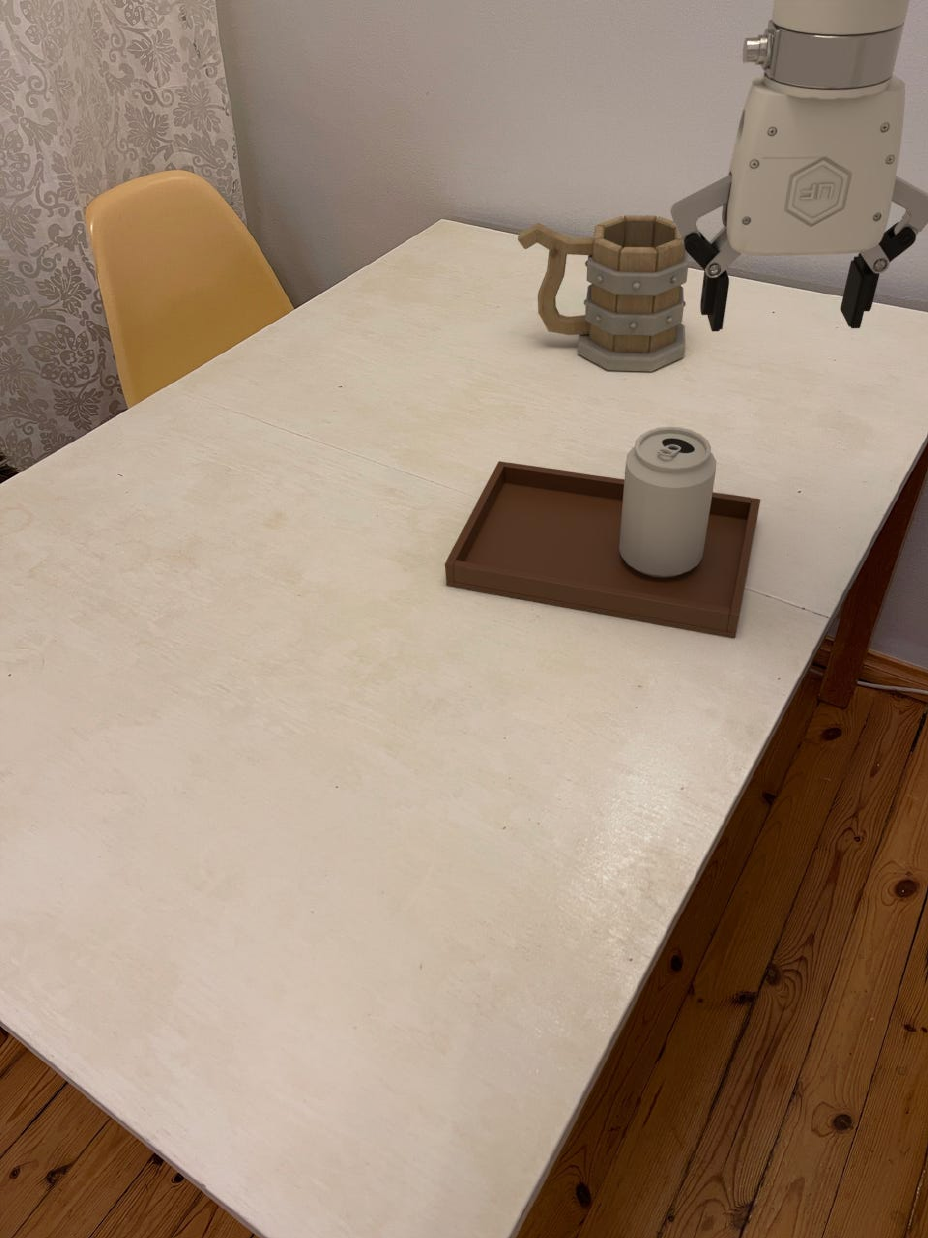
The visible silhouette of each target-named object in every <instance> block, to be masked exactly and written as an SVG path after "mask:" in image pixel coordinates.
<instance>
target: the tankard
mask: <svg viewBox="0 0 928 1238" xmlns="http://www.w3.org/2000/svg"><path fill="white" fill-rule="evenodd" d="M593 231H594V232H593V237H570V236H567V235H564V234H562V233H561V232H557V231H555V230H553V229H551V228H549V227H548V226H545V225H543V224H542V223H539V222H536V223H535V224H533V225H532V226H530V227H528V228H526V229H524V230H523V231H521V232H519V233H518V235H517V241H518V242H519V244H520V245H521V247H522V249H523V250H527V249H530V248H531V247H533V246H534V245H536V244H539V245H541V246H542V247H544V248H546V249H547V250H548V260H547V267H546V271H545V274H544V277H543V280H542V282H541V283H540V284H541V285H540V286H539V289H538V292H537V314H538V315H539V317H540V319H541V320H542V323H543V324H544V326H545V328H546V329H547V331H548V332H549V333H555V334H560V335H566V336H578V345H577V354H578V355H579V356H581V357H583V358H585V359H587V360H588V361H590V362H592V363H594V364H596V365H597V366H599V367H600V368H603V369H605V370H606V371H610V372H611V371H612V372H613V371H616V372H621V371H622V372H643V373H645V372H646V373H647V372H650V373H652V372H655V371H656V370H658V369H660V368H663V367H665V366H667V365H670V364H671V363H674V362H675V361H678V360H680V359H682V358H684V357H685V354H686V326H685V325H684V324H683V317H684V310H685V309H684V308H685V307H686V305H687V303H686V301H685V299H684V287H683V285H684V284H686V283H687V280H688V273H689V268H690V267H691V262H690V261H689V254H688V253H687V251H686V250H685V247H684V245H683V242H682V240H681V238H680V236H679V233H678V231H677V229H676V226H675V224H674V222H673V220H671V219H668V218H665V217H663V216H660V215H658V216H657V215H638V214H637V215H635V214H633V215H620V216H617V217H614V218H611V219H609V220H606V221H603V222H601V223H598V224H597V225H596V226H594V230H593ZM568 255H571V256H572V255H575V256H587V260H586V261H584V265H585V267H586V282H587V283H589V285H588V286H587V288H586V289H587V291H586V298H585V299H584V300H583V305H584V306H585V308H584V309H585V311H584V314H583V315H573V316H566V315H563V314H561V313H560V312H559V311H558V308H557V304H556V303H557V302H556V301H557V300H556V297H557V295H558V292H559V289H560V287H561V285H562V283H563V281H564V280H563V279H564V278H565V274H566V265H567V258H568Z"/></svg>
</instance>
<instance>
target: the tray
mask: <svg viewBox="0 0 928 1238" xmlns="http://www.w3.org/2000/svg"><path fill="white" fill-rule="evenodd" d="M624 480H625V478H618V477H611V476H603V475H597V474H590V473H584V472H575V471H571V470H570V471H569V470H563V469H556V468H548V467H542V466H534V465H528V464H527V465H526V464H521V463H513V462H508V461H501V460H498V461H497V463H496V465H495V467H494V469H493V471H492V473H491V475H490V476H489V479H488V481H487V483H486V484H485V486H484V488H483V490H482V492H481V494H480V496H479V498H478V500H477V502H476V503H475V505H474V507H473V509H472V511H471V513H470V515H469V516H468V518H467V521H466V522H465V525H463V528H462V531H461V532H460V533H459V536H458V538H457V540H456V542H454V545H453V547H452V549H451V551H450V553H449V555H448V556H447V559H446V560H445V562H444V572H445V585H446V586H448V587H453V588H459V589H464V590H470V591H475V592H480V593H486V594H490V595H491V594H492V595H495V596H502V597H508V598H512V599H519V600H524V601H530V602H535V603H540V604H546V605H551V606H552V605H553V606H557V607H562V608H567V609H573V610H580V611H584V612H589V613H595V614H599V615H601V614H602V615H606V616H611V617H617V618H623V619H629V620H634V621H638V622H645V623H649V624H656V625H662V626H666V627H672V628H677V629H683V630H688V631H694V632H699V633H705V634H710V635H715V636H721V637H727V638H732V639H735V638H736V636H737V631H738V626H739V620H740V617H741V616H740V615H741V611H742V605H743V599H744V593H745V587H746V582H747V576H748V571H749V566H750V560H751V556H752V555H751V554H752V549H753V544H754V538H755V533H756V527H757V521H758V515H759V509H760V505H761V499H760V498H754V497H750V496H743V495H736V494H735V495H734V494H727V493H721V492H714V491H713V492H712V499H711V505H710V512H709V518H708V525H707V531H706V538H705V544H704V550H703V557H702V559H701V560H700V562H699V564H698V565H697V566H695V567H694V568H692V569H691V570H690V571H687V572H684V573H682V574H680V575H677V576H674V577H665V578H661V577H652V576H649V575H646V574H643V573H641V572H639V571H638V570H636V569H635V568H633V567H632V566H630V565H628V563H627V562H626V561H625V560H624V559H623V558H622V556H621V553H620V550H619V544H620V531H621V518H622V506H623V493H624Z"/></svg>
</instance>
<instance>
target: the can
mask: <svg viewBox="0 0 928 1238" xmlns="http://www.w3.org/2000/svg"><path fill="white" fill-rule="evenodd" d="M716 471H717V459H716V458H715V456H714V454H713V453H712V446H711V444H710V442H709V440H708V439H707V438H705V437H704V436H703V435H702V434H701V433H699V432H696V431H694V430H692V429H689V428H685V427H679V426H661V427H656V428H653V429H650V430H647V431H645V432H643V433H642V434H640V435H639V436H638V437H637V439H636V440H635V444H634V446H632V448H631V449H630V450H629V451H628V452H627V454H626V460H625V469H624V479H625V480H624V493H623V506H622V518H621V531H620V544H619V550H620V553H621V556H622V558H623V559H624V560H625V561H626V562H627V563H628V565H630V566H632V567H633V568H635V569H636V570H638V571H639V572H641V573H643V574H646V575H649V576H652V577H661V578H665V577H674V576H677V575H680V574H682V573H684V572H687V571H690V570H691V569H692V568H694V567H695V566H697V565H698V564H699V562H700V560H701V559H702V557H703V550H704V544H705V538H706V531H707V525H708V518H709V512H710V505H711V499H712V492H714V486H715V485H714V484H715V479H716Z"/></svg>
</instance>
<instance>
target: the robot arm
mask: <svg viewBox="0 0 928 1238" xmlns="http://www.w3.org/2000/svg"><path fill="white" fill-rule="evenodd" d="M909 5H910V0H773V8H772V14H771V19H769V20H768V24H767V28H765V29H764V32H763V34H758V35H757V36H755V37H754V36H753V37H745V39H744V42H743V47H742V63H743V64H748V63H749V64H750V63H751V64H752V63H754V64H755V66H760V68H761V69H762V70H763V74H761V75H757V76H755V77H754V78H753V79H752V82H751V85H750V88H749V90H748V93H747V96H746V100H745V102H744V106H743V109H742V112H741V116H740V120H739V123H738V128H737V133H736V135H735V136H736V137H735V141H734V145H733V149H732V154H731V159H730V163H729V167H728V172H727V175H726V176H724V177H721V178H720V179H718V180H716V181H714V182H713V183H711V184H709V185H707V186H705V187H703V188H701V189H699V190H698V191H696V192H693V193H692V194H690V195H688V196H686V197H684V198H682V199H680V200H679V201H677V202H675V203H673V204H672V205H671V207H670V215H671V219H672V221H673V222H674V224H675V226H676V229H677V231H678V233H679V236H680V238H681V240H682V242H683V245H684V247H685V250H686V251H687V253H688V256H690V257H691V258H692V259H693V260H694V261H695V263H697V264H698V266H700V268H702V269H703V278H702V285H701V286H702V287H701V293H700V294H701V295H700V301H699V302H700V303H699V304H700V305H699V310H700V315H701V316H707V319H708V323H709V326H710V327H709V328H710V330H711V332H720V331H721V330H723V329H724V323H725V315H726V308H727V301H728V293H729V285H730V278H729V275H728V271H727V270H728V268H729V267H730V266H731V265H732V264H733V263H734V262H735V261H736V260H737V259H738V258H740V256H741V255H745V256H750V257H751V256H752V257H781V256H783V257H785V256H818V255H819V256H820V255H846V254H848V255H849V254H857V256H853V259H852V260H851V261H850V263H849V268H848V273H847V276H846V281H845V285H844V290H843V293H842V298H841V301H840V302H841V303H840V309H839V310H840V312H841V314H842V317H843V318H844V320H845V322H846V325H847V326H848V327H850V329H860V328H861V327H862V323H863V318H864V314H865V312H870V311H871V309H872V306H873V302H874V298H875V294H876V290H877V286H878V282H879V279H880V274H884V273H885V272H886V271H887V270H888V269H889V267H890V263H891V262H892V261H894V260H895V259H896V258H898V257H899V256H900V255H901V254H903V253H904V252H906V250H908V249H909V248H910V247H911V246H913V245H914V243H915V242H916V240H917V236H918V234H919V233H920V232H922V231H923V230H924V229H925V228H926V226H927V225H928V192H926V191H924V190H922V189H920V188H919V187H917V186H916V185H913V184H911V183H910V182H908V181H906V180H905V179H903V178H901V177H900V176H897V172H898V166H899V158H900V153H901V152H900V151H901V144H902V135H903V126H904V116H905V103H906V102H905V100H906V97H905V96H906V84H905V82H904V81H903V80H902V79H900V78H899V77H898V76H896V75H894V70H895V66H896V62H897V57H898V53H899V48H900V44H901V39H902V35H903V30H904V27H905V21H906V18H907V14H908V9H909ZM892 202H893V203H894V204H896V205H897V206H900V207H901V208H904V209H905V212H904V213H903V215H902V216H901V219H900V220H899V221H898V222H896V223H894V224H893V225H892V226H891V227H890V228H888V229H887V226H888V222H889V217H890V212H891V207H892ZM720 207H722V210H721V211H722V212H721V217H722V218H721V219H722V224H723V227H722V228H721V229H720V230H719V231H718V232H717V233H716V234H715V236H714V237H712V239H710V241H709V240H708V239H707V238H706V237H705V236H704V234H702V232H700V230H699V228H698V226H697V222H698V220H699V219H700V218H701V217H703V216H706V215H707V214H709V213H711V212H713V211H715V210H717V209H719V208H720ZM886 229H887V230H886Z"/></svg>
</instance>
